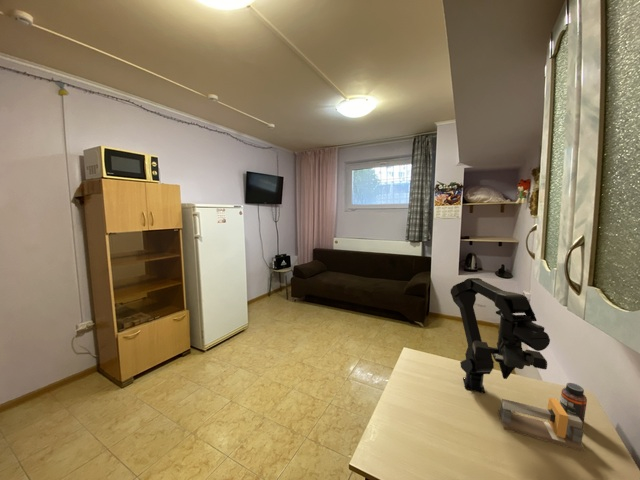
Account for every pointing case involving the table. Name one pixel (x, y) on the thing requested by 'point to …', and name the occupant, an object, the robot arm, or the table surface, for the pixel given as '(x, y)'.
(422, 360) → the table surface
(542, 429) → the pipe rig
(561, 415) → the collar
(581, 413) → the supplement bottle
